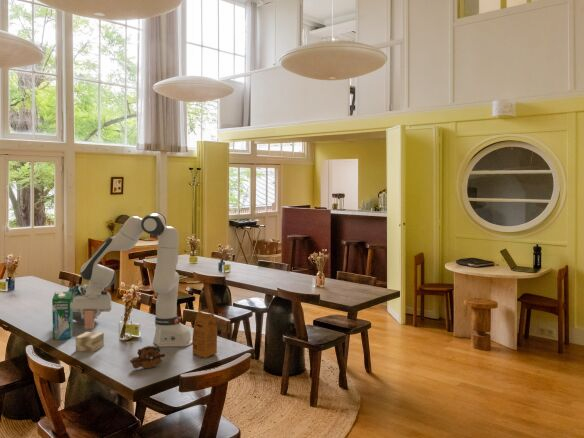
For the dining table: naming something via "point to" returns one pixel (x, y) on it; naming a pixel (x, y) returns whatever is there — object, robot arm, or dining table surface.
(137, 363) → the wooden carving
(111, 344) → the dining table surface
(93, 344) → the beige patterned block
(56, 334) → the milk carton
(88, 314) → the brown upright cylinder
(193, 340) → the coffee package
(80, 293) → the flower arrangement
